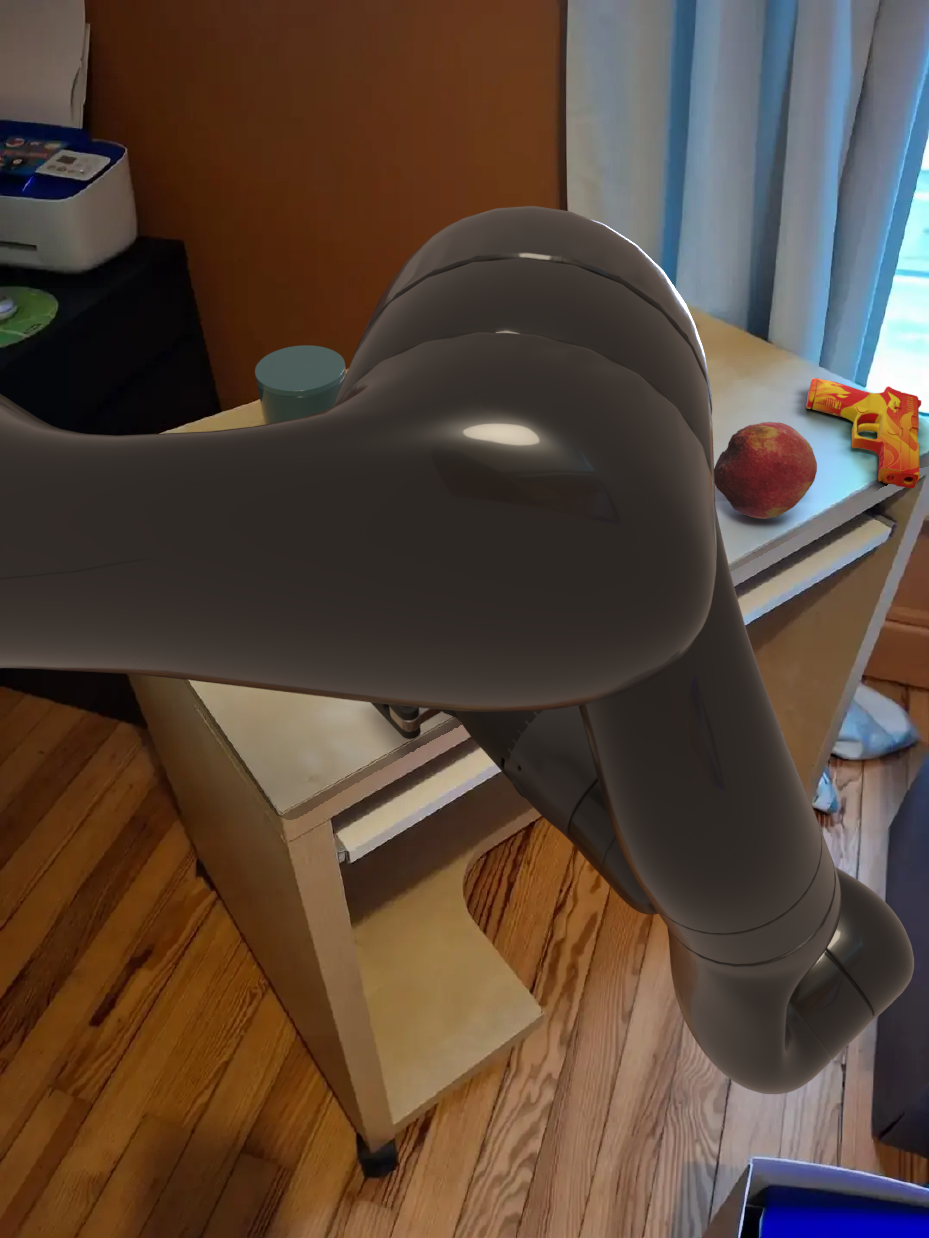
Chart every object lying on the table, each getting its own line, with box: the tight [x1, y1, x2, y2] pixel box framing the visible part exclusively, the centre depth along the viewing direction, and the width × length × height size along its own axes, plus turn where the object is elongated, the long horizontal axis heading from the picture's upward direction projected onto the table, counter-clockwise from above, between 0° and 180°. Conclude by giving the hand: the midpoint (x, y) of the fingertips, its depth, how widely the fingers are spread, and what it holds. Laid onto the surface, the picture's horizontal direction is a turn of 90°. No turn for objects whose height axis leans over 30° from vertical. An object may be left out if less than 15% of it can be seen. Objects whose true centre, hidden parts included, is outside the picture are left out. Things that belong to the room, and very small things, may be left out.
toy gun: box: [805, 377, 922, 489], centre depth 86 cm, size 2×14×10 cm
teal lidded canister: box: [254, 344, 347, 425], centre depth 86 cm, size 8×8×7 cm
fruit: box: [714, 421, 818, 520], centre depth 76 cm, size 8×8×8 cm
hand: (410, 582), depth 62 cm, fingers open, 8 cm apart
